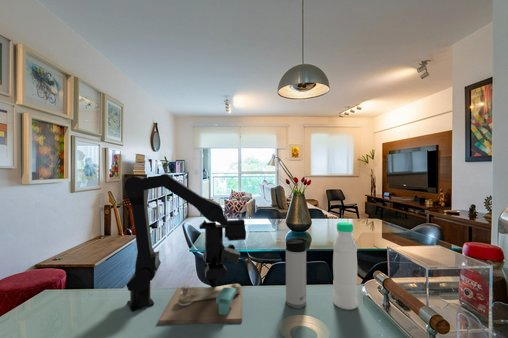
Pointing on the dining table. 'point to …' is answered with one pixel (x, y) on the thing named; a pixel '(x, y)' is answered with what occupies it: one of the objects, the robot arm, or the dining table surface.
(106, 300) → the dining table surface
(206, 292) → the link
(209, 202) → the robot arm
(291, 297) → the travel mug
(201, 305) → the base board
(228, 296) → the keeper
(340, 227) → the water bottle
